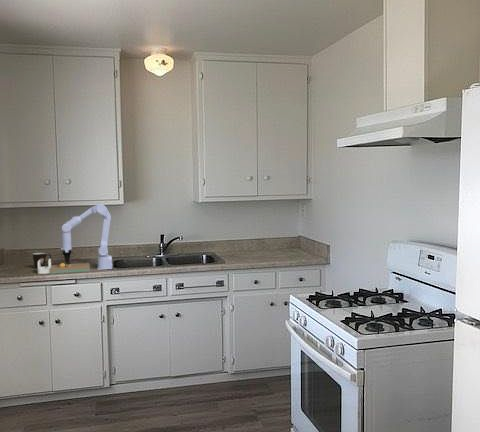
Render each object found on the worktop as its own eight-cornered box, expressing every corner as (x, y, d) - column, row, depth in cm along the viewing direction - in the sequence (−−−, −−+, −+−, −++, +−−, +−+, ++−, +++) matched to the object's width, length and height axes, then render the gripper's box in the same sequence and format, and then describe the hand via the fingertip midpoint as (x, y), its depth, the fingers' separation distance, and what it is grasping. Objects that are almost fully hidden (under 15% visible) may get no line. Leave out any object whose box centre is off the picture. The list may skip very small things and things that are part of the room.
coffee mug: (32, 269, 343) (31, 254, 343) (33, 267, 351) (33, 252, 351) (50, 268, 346) (50, 253, 346) (51, 266, 355) (51, 252, 354)
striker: (70, 267, 339) (70, 255, 338) (70, 269, 333) (70, 257, 332) (66, 267, 338) (65, 256, 337) (66, 269, 332) (65, 257, 331)
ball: (67, 266, 337) (64, 261, 336) (66, 267, 333) (64, 262, 332) (61, 269, 336) (58, 264, 335) (61, 270, 332) (58, 265, 331)
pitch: (89, 268, 345) (89, 256, 345) (89, 271, 334) (89, 258, 333) (39, 271, 335) (38, 259, 335) (37, 274, 324) (37, 261, 323)
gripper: (60, 240, 340) (61, 260, 340) (60, 243, 326) (60, 263, 327) (71, 240, 342) (72, 260, 343) (71, 242, 328) (72, 263, 329)
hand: (67, 261), depth 335 cm, fingers closed on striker, 3 cm apart
